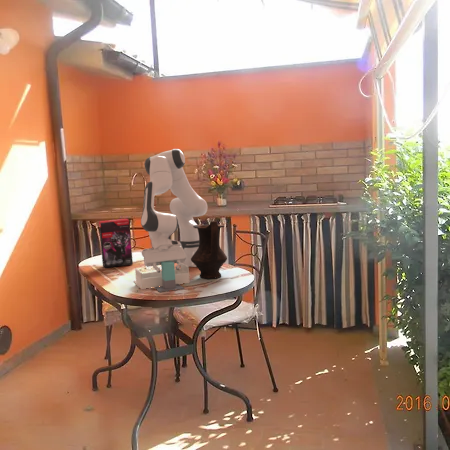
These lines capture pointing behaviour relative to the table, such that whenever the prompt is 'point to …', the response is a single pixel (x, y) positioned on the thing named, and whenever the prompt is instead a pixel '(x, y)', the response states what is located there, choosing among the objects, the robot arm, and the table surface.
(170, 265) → the teal box
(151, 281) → the carton
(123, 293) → the table surface
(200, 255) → the jug
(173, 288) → the slate mat
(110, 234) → the graphics card box
